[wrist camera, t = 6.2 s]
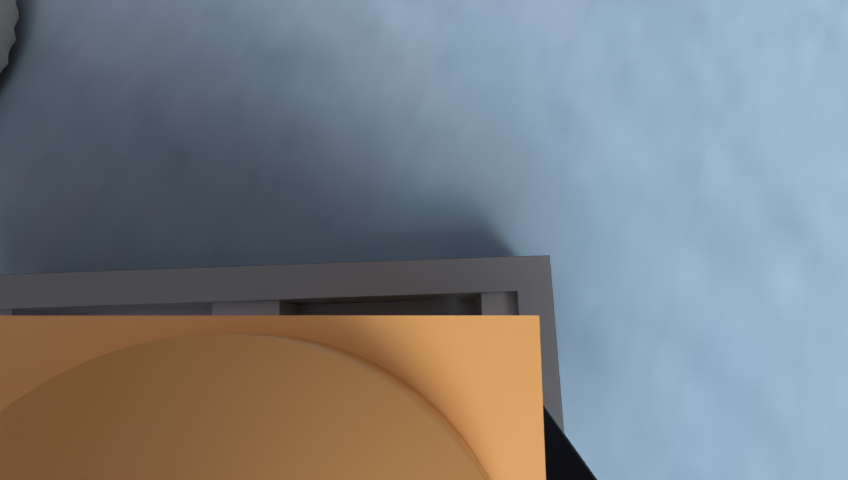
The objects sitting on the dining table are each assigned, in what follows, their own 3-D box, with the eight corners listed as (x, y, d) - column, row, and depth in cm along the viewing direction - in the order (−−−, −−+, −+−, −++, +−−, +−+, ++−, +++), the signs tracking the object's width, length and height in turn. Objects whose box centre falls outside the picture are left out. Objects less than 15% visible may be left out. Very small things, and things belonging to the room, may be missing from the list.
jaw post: (460, 482, 16) (611, 1245, 2) (312, 481, 16) (-303, 1227, 3) (458, 331, 16) (564, 309, 3) (317, 331, 16) (-122, 309, 3)
